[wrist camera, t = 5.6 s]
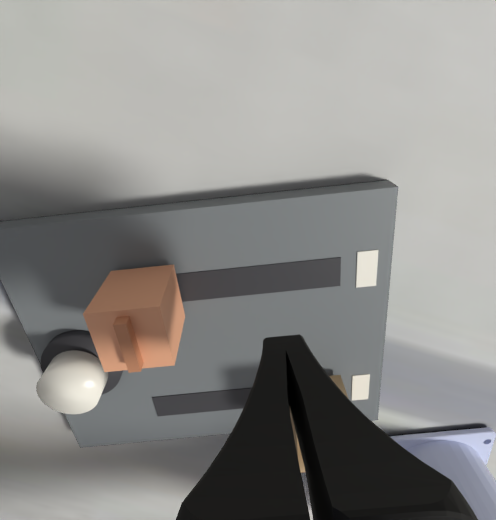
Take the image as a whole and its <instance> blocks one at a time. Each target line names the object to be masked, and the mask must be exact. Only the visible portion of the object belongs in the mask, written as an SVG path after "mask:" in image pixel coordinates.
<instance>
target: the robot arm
mask: <svg viewBox="0 0 496 520" xmlns="http://www.w3.org/2000/svg"><path fill="white" fill-rule="evenodd" d="M290 409H291V414H292V418H293V422H294V426H295V430H296V434H297V438H298V442H299V446H300V450H301V455H302V459H303V463H304V467H305V472H306V477H307V482H308V488H309V495H310V501H311V507H312V514H313V520H496V480H495V479H494V477H493V476H492V474H491V473H490V471H489V469H488V468H487V466H486V465H487V462H488V459H489V456H490V452H491V449H492V446H493V443H494V440H495V436H496V433H495V432H494V431H493V429H492V428H487V427H486V428H475V429H464V430H453V431H442V432H432V433H421V434H410V435H399V436H388V435H387V434H386V433H385V432H383V431H382V430H381V429H380V428H378V427H377V426H376V425H375V424H374V423H373V422H372V421H371V420H369V419H368V418H367V417H366V416H365V415H364V414H363V413H362V412H361V411H360V410H359V409H358V408H357V407H356V406H355V405H354V404H353V403H352V402H351V401H350V400H349V399H348V398H347V397H346V396H345V395H344V393H343V392H342V391H341V390H340V389H339V388H338V386H337V385H336V384H335V383H334V382H333V381H332V379H331V378H330V377H329V376H328V374H327V373H326V372H325V370H324V369H323V368H322V366H321V365H320V364H319V362H318V361H317V359H316V358H315V356H314V355H313V353H312V352H311V350H310V349H309V347H308V345H307V344H306V342H305V340H304V338H303V336H301V335H300V334H299V335H288V336H278V337H267V338H265V339H264V340H263V349H262V355H261V360H260V364H259V368H258V371H257V374H256V378H255V381H254V384H253V386H252V389H251V391H250V394H249V397H248V399H247V402H246V404H245V406H244V408H243V411H242V413H241V415H240V417H239V419H238V421H237V423H236V425H235V427H234V428H233V430H232V432H231V434H230V436H229V437H228V439H227V441H226V443H225V444H224V446H223V448H222V449H221V451H220V452H219V454H218V455H217V457H216V458H215V460H214V461H213V463H212V464H211V466H210V467H209V469H208V470H207V472H206V473H205V474H204V476H203V477H202V478H201V480H200V481H199V482H198V483H197V485H196V486H195V487H194V488H193V490H192V491H191V492H190V493H189V495H188V496H187V497H186V498H185V500H184V501H183V502H182V505H181V507H180V510H179V512H178V515H177V518H176V520H310V517H309V511H308V506H307V502H306V497H305V492H304V487H303V482H302V477H301V472H300V467H299V461H298V456H297V450H296V445H295V440H294V434H293V428H292V423H291V417H290Z"/></svg>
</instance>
